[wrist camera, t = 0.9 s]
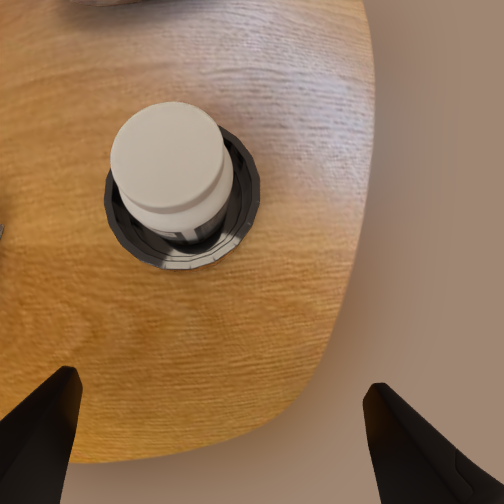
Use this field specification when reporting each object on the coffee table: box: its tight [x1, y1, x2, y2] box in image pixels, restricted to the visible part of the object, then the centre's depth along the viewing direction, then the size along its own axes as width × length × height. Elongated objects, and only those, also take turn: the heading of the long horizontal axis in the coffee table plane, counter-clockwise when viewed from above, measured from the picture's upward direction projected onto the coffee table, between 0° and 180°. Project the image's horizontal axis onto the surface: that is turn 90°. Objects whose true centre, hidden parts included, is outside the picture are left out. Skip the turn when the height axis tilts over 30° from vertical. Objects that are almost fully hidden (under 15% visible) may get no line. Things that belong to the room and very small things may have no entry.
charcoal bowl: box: [104, 125, 260, 272], centre depth 20 cm, size 9×9×4 cm
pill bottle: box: [110, 102, 233, 245], centre depth 17 cm, size 6×6×10 cm
